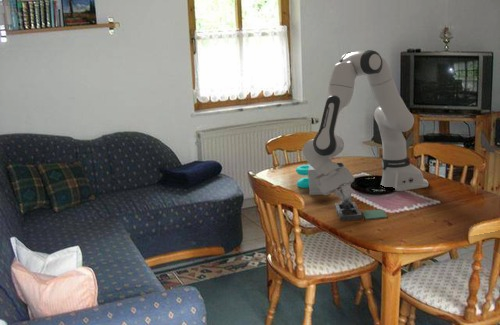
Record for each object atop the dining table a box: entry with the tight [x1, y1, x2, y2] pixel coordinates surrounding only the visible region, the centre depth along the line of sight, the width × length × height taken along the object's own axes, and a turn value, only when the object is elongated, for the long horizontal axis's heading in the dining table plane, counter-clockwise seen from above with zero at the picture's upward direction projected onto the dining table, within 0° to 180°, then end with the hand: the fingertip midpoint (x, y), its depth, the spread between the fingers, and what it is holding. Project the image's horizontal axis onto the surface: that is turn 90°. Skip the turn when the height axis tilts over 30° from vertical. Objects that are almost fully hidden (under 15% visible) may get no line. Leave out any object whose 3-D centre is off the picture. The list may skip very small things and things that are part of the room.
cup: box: [339, 183, 352, 209], centre depth 260 cm, size 5×5×12 cm
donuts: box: [295, 164, 311, 189], centre depth 300 cm, size 10×10×10 cm
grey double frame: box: [334, 201, 363, 222], centre depth 258 cm, size 9×17×2 cm, turn 0°
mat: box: [361, 208, 388, 221], centre depth 253 cm, size 9×9×1 cm
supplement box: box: [307, 166, 325, 196], centre depth 288 cm, size 7×7×13 cm
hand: (347, 195), depth 260 cm, fingers closed on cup, 5 cm apart
